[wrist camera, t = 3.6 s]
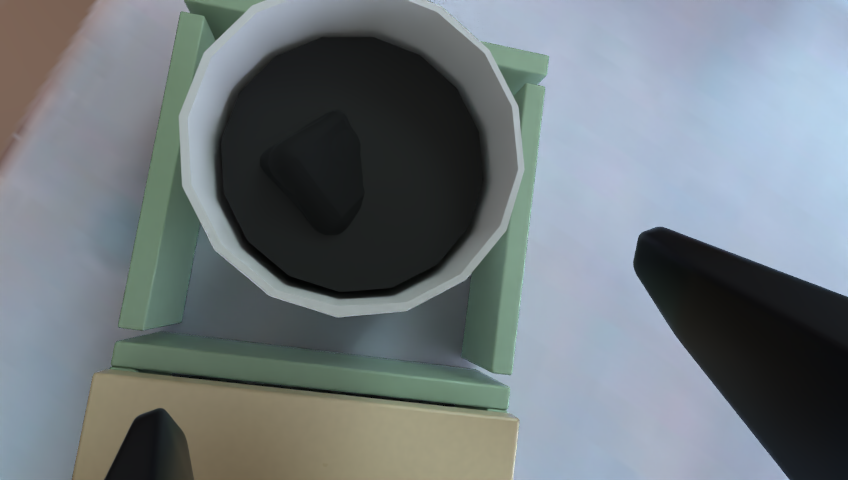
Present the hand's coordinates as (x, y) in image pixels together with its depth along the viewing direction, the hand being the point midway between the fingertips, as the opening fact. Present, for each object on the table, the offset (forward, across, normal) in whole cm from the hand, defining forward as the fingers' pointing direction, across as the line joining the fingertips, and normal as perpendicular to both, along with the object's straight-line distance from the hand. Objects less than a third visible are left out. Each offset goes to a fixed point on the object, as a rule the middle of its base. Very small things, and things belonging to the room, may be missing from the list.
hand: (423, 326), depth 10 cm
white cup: (+10, 0, +5) cm, 11 cm away
